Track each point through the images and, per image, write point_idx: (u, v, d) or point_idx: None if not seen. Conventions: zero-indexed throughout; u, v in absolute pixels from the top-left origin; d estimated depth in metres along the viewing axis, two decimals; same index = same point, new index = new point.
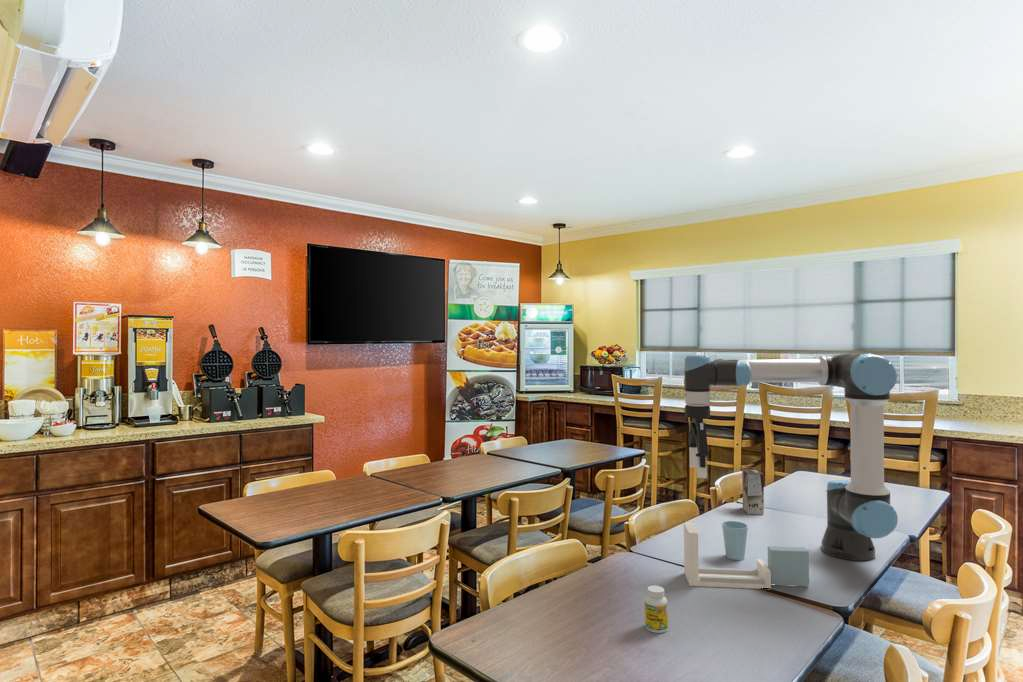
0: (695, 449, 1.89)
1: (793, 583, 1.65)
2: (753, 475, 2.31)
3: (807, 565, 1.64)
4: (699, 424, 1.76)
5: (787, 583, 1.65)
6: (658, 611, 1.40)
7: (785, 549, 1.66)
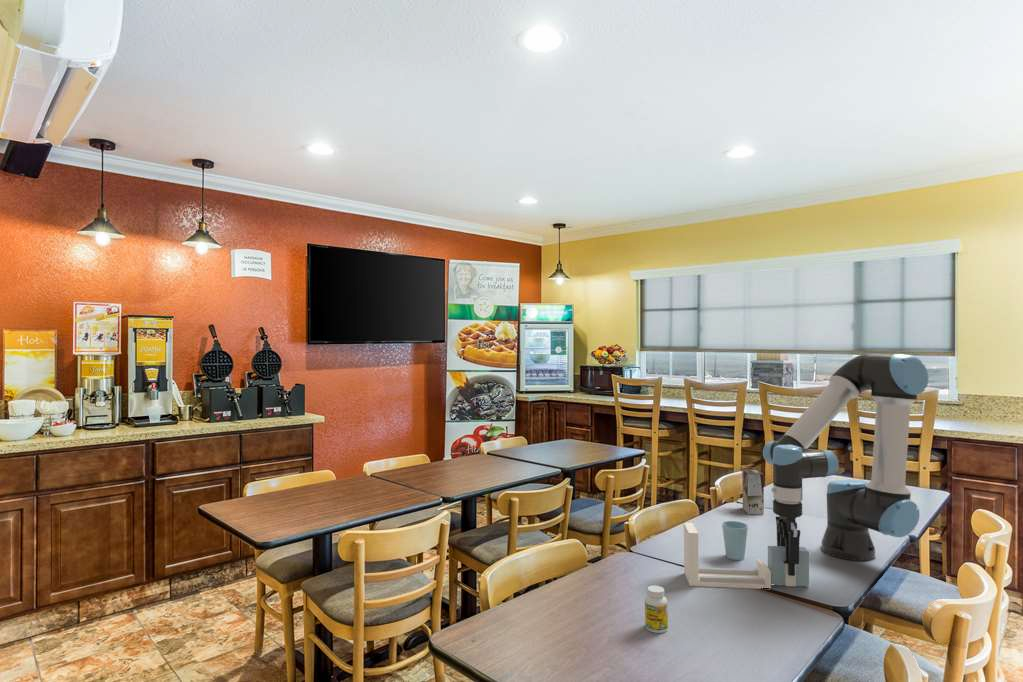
0: None
1: None
2: (753, 475, 2.31)
3: (807, 565, 1.64)
4: (793, 532, 1.60)
5: None
6: (658, 611, 1.40)
7: None
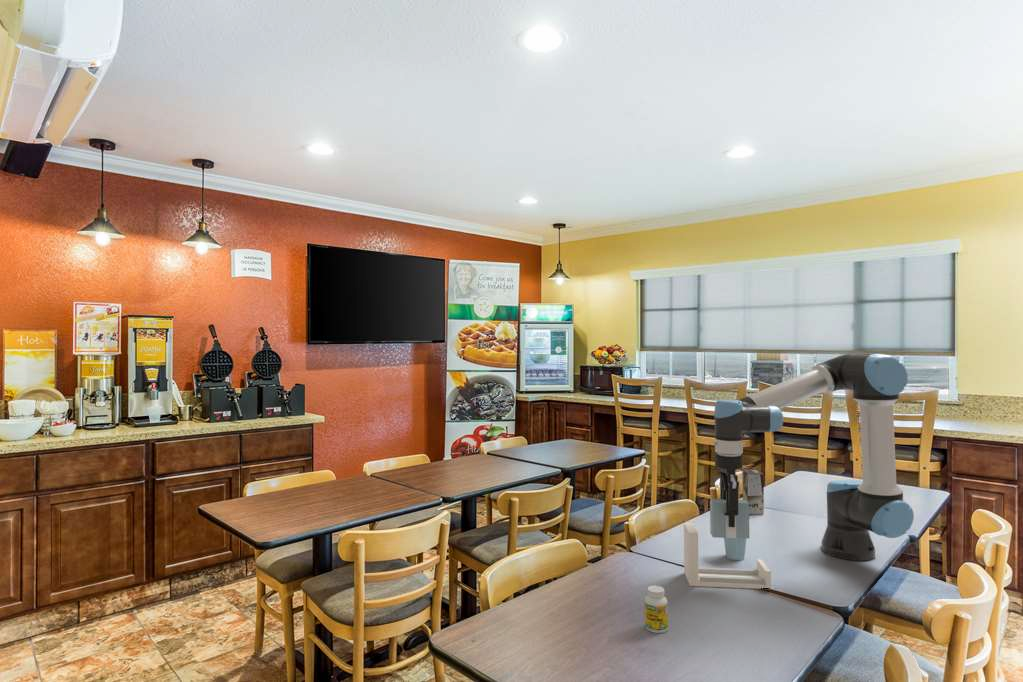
0: None
1: None
2: (753, 475, 2.31)
3: (747, 517, 1.66)
4: (732, 484, 1.62)
5: None
6: (658, 611, 1.40)
7: None
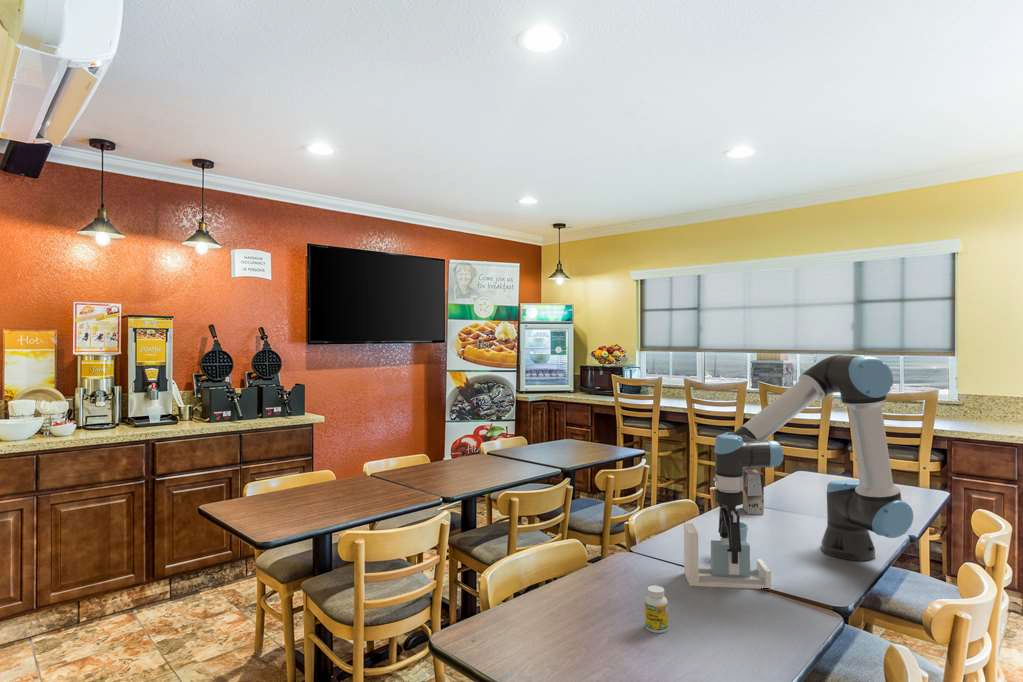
0: (727, 540, 1.73)
1: None
2: (753, 475, 2.31)
3: (748, 559, 1.66)
4: (732, 517, 1.62)
5: None
6: (658, 611, 1.40)
7: (727, 543, 1.68)
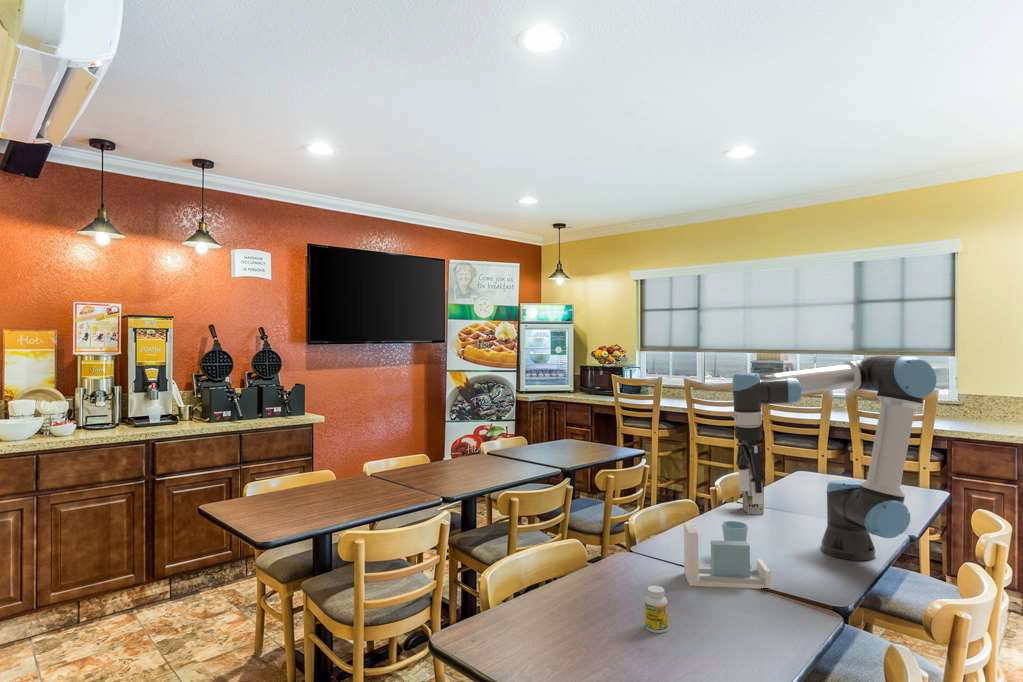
0: (745, 471, 1.80)
1: None
2: None
3: (748, 559, 1.66)
4: (753, 447, 1.67)
5: None
6: (658, 611, 1.40)
7: (727, 543, 1.68)
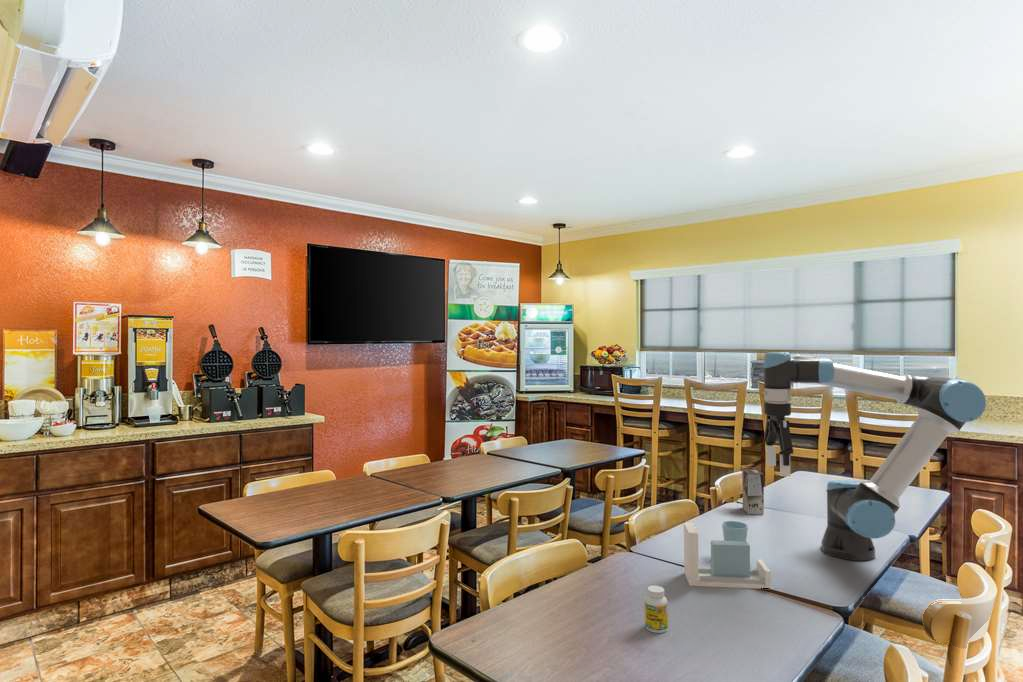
0: (772, 447, 1.87)
1: None
2: (753, 475, 2.31)
3: (748, 559, 1.66)
4: (782, 422, 1.74)
5: None
6: (658, 611, 1.40)
7: (727, 543, 1.68)
